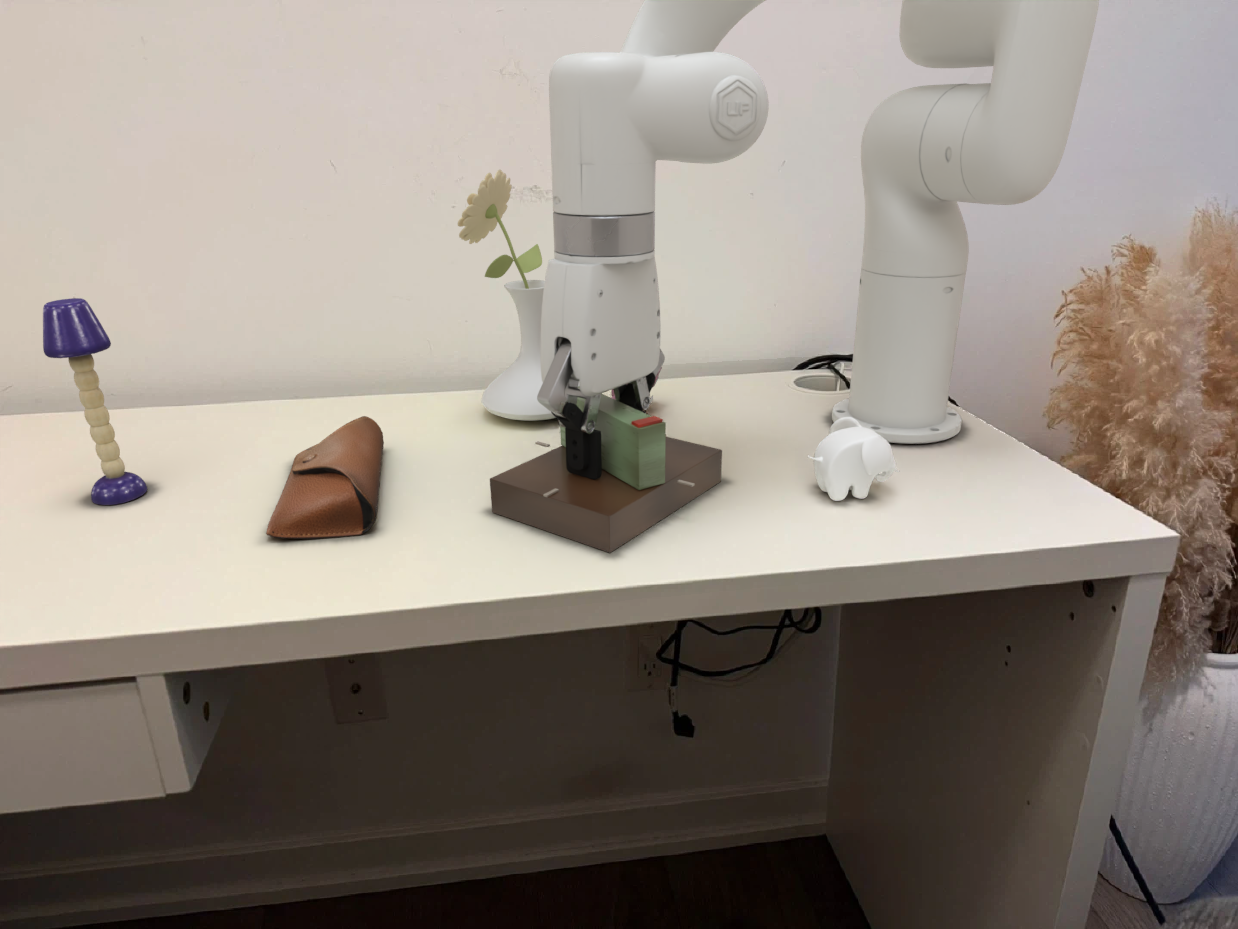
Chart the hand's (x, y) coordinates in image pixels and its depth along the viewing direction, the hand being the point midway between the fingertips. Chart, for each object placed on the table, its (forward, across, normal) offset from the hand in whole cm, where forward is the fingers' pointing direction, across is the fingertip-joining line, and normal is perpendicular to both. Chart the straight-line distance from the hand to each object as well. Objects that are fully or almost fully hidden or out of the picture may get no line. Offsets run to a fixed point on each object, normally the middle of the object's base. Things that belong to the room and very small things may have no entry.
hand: (606, 461), depth 70 cm
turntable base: (+3, 0, 0) cm, 3 cm away
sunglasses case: (+4, +13, -20) cm, 24 cm away
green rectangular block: (0, 0, 0) cm, 0 cm away
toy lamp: (+4, +24, -35) cm, 42 cm away
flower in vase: (+3, -12, -20) cm, 24 cm away
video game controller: (+3, -18, -11) cm, 22 cm away
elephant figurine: (+3, -12, +16) cm, 21 cm away
